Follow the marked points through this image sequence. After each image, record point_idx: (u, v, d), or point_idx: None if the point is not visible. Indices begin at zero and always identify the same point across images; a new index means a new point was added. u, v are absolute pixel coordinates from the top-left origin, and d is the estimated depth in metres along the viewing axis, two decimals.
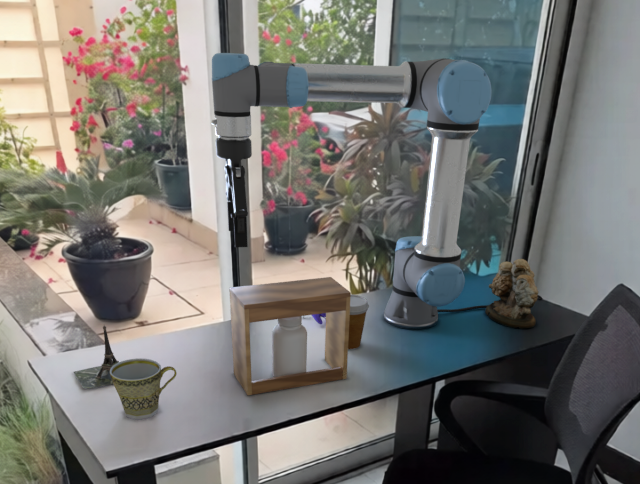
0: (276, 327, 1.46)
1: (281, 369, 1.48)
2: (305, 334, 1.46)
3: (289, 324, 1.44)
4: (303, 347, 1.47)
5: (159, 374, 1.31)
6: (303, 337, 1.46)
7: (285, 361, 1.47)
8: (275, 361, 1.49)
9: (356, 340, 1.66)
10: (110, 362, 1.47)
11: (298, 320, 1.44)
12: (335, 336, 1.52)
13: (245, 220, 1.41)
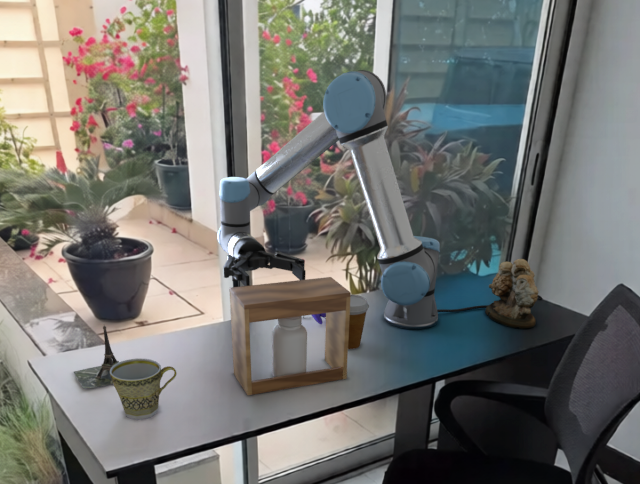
0: (276, 327, 1.46)
1: (281, 369, 1.48)
2: (305, 334, 1.46)
3: (289, 324, 1.44)
4: (303, 347, 1.47)
5: (159, 374, 1.31)
6: (303, 337, 1.46)
7: (285, 361, 1.47)
8: (275, 361, 1.49)
9: (356, 340, 1.66)
10: (110, 362, 1.47)
11: (298, 320, 1.44)
12: (335, 336, 1.52)
13: (238, 269, 1.51)
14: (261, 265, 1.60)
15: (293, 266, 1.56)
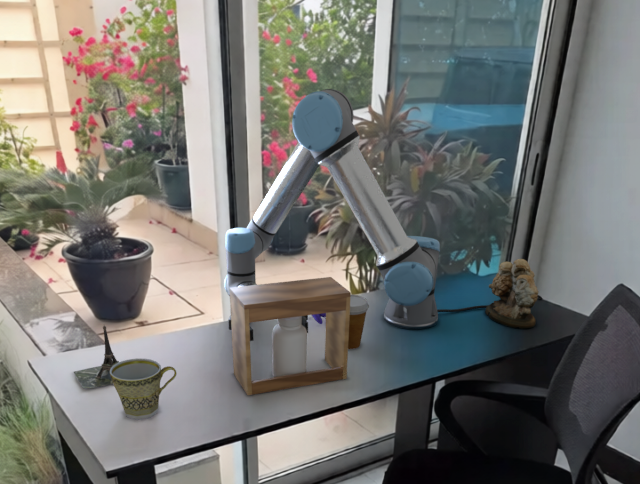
0: (276, 327, 1.46)
1: (281, 369, 1.48)
2: (305, 334, 1.46)
3: (289, 324, 1.44)
4: (303, 347, 1.47)
5: (159, 374, 1.31)
6: (303, 337, 1.46)
7: (285, 361, 1.47)
8: (275, 361, 1.49)
9: (356, 340, 1.66)
10: (110, 362, 1.47)
11: (298, 320, 1.44)
12: (335, 336, 1.52)
13: None
14: None
15: None
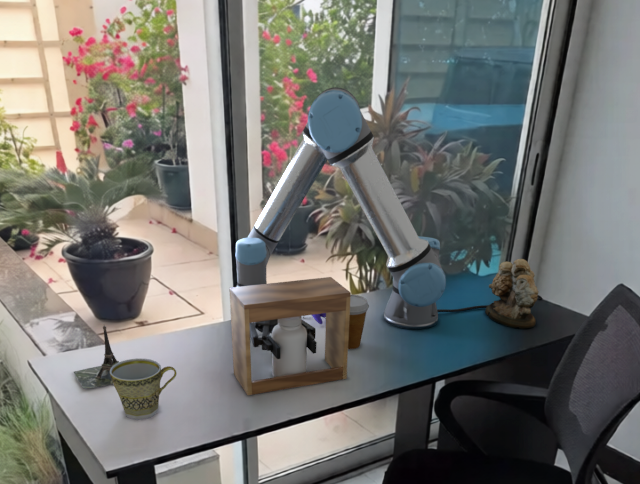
0: (276, 327, 1.46)
1: (281, 369, 1.48)
2: (305, 334, 1.46)
3: (289, 324, 1.44)
4: (303, 347, 1.47)
5: (159, 374, 1.31)
6: (303, 337, 1.46)
7: (285, 361, 1.47)
8: (275, 361, 1.49)
9: (356, 340, 1.66)
10: (110, 362, 1.47)
11: (298, 320, 1.44)
12: (335, 336, 1.52)
13: (268, 339, 1.47)
14: None
15: None
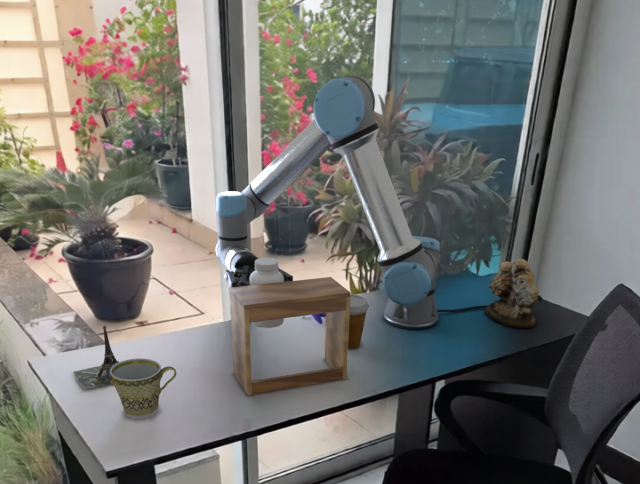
0: (253, 273, 1.50)
1: None
2: (281, 279, 1.50)
3: (265, 269, 1.47)
4: None
5: (159, 374, 1.31)
6: None
7: None
8: None
9: (356, 340, 1.66)
10: (110, 362, 1.47)
11: (274, 265, 1.48)
12: (335, 336, 1.52)
13: (246, 284, 1.51)
14: None
15: None
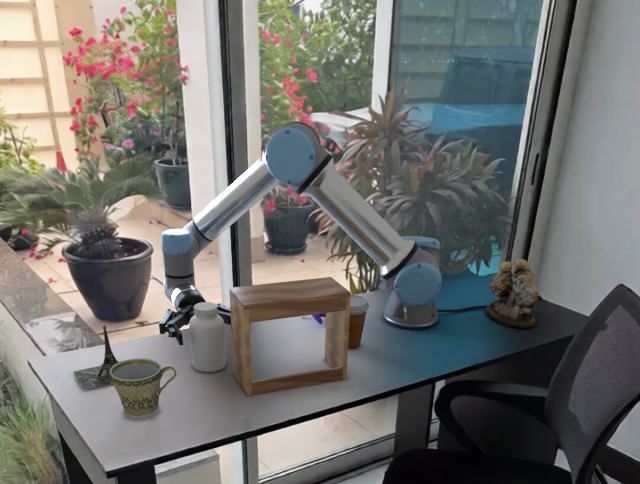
0: (193, 317, 1.50)
1: (199, 359, 1.52)
2: (221, 324, 1.50)
3: (204, 314, 1.47)
4: (220, 337, 1.50)
5: (159, 374, 1.31)
6: (219, 327, 1.49)
7: (202, 351, 1.50)
8: (193, 351, 1.52)
9: (356, 340, 1.66)
10: (110, 362, 1.47)
11: (213, 310, 1.47)
12: (335, 336, 1.52)
13: (173, 326, 1.51)
14: None
15: None
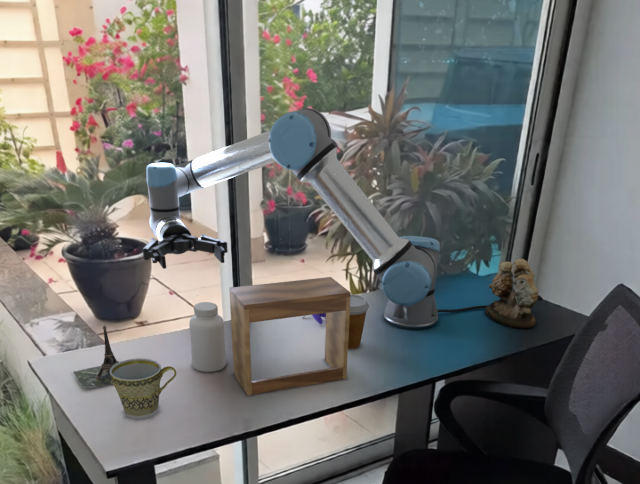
0: (193, 317, 1.50)
1: (199, 359, 1.52)
2: (221, 324, 1.50)
3: (204, 314, 1.47)
4: (220, 337, 1.50)
5: (159, 374, 1.31)
6: (219, 327, 1.49)
7: (202, 351, 1.50)
8: (193, 351, 1.52)
9: (356, 340, 1.66)
10: (110, 362, 1.47)
11: (213, 310, 1.47)
12: (335, 336, 1.52)
13: (157, 251, 1.52)
14: (184, 248, 1.61)
15: (214, 248, 1.58)
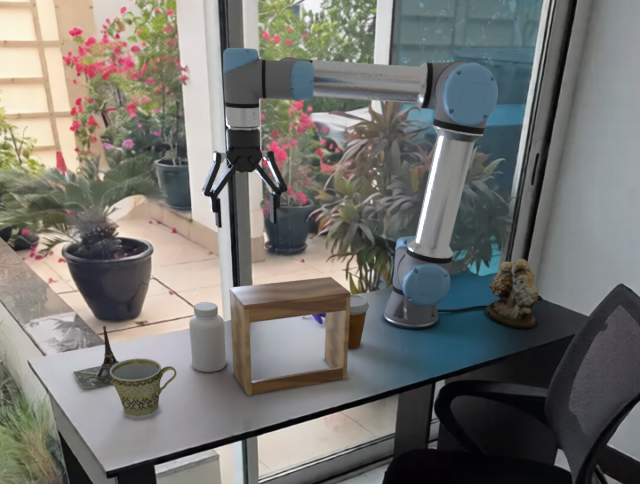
0: (193, 317, 1.50)
1: (199, 359, 1.52)
2: (221, 324, 1.50)
3: (204, 314, 1.47)
4: (220, 337, 1.50)
5: (159, 374, 1.31)
6: (219, 327, 1.49)
7: (202, 351, 1.50)
8: (193, 351, 1.52)
9: (356, 340, 1.66)
10: (110, 362, 1.47)
11: (213, 310, 1.47)
12: (335, 336, 1.52)
13: (217, 202, 1.51)
14: None
15: (272, 199, 1.57)
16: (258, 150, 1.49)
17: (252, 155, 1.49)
